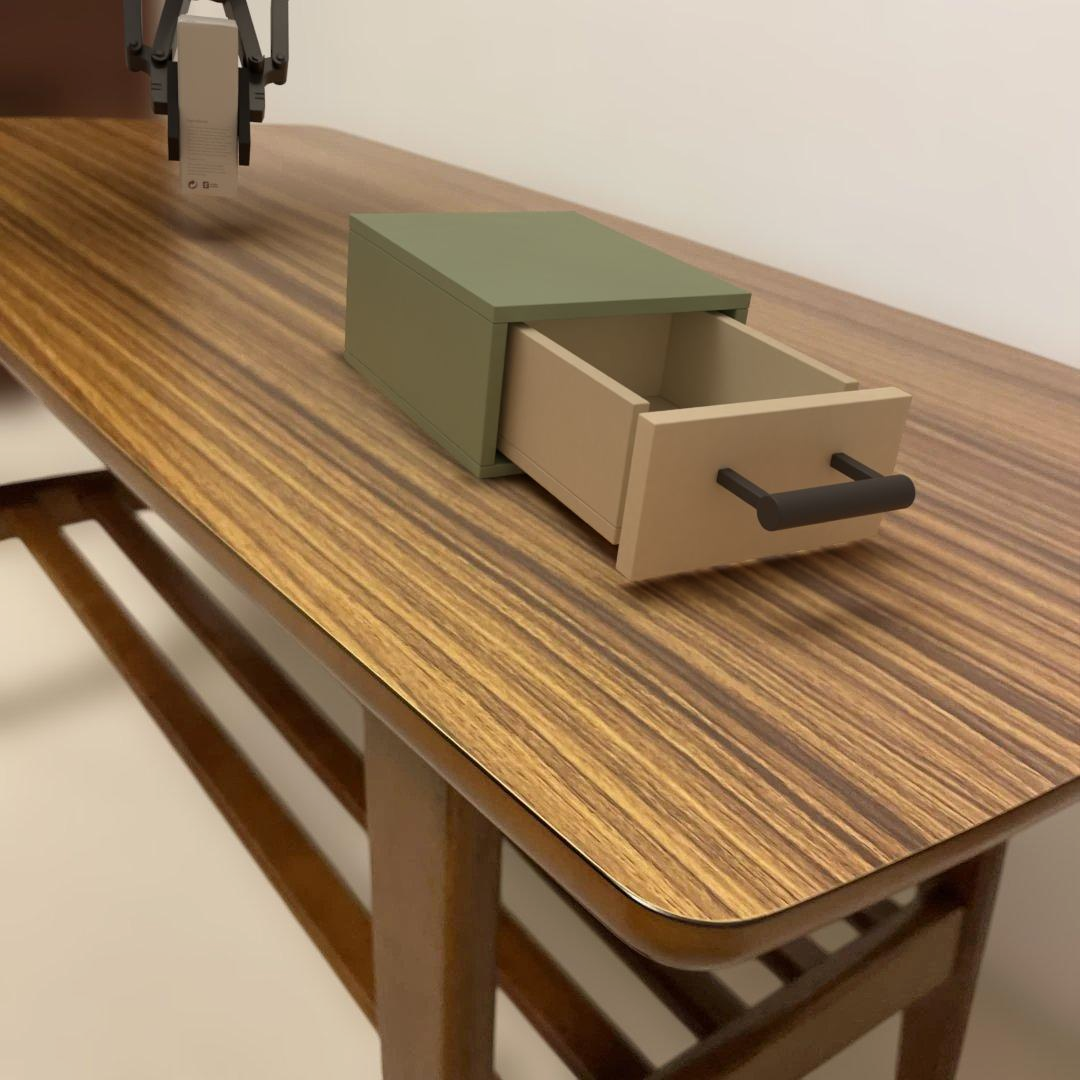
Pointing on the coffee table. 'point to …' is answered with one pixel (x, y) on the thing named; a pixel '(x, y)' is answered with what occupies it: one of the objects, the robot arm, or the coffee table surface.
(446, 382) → the cabinet
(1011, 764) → the coffee table surface
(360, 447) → the coffee table surface
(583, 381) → the drawer
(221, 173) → the cosmetic box
